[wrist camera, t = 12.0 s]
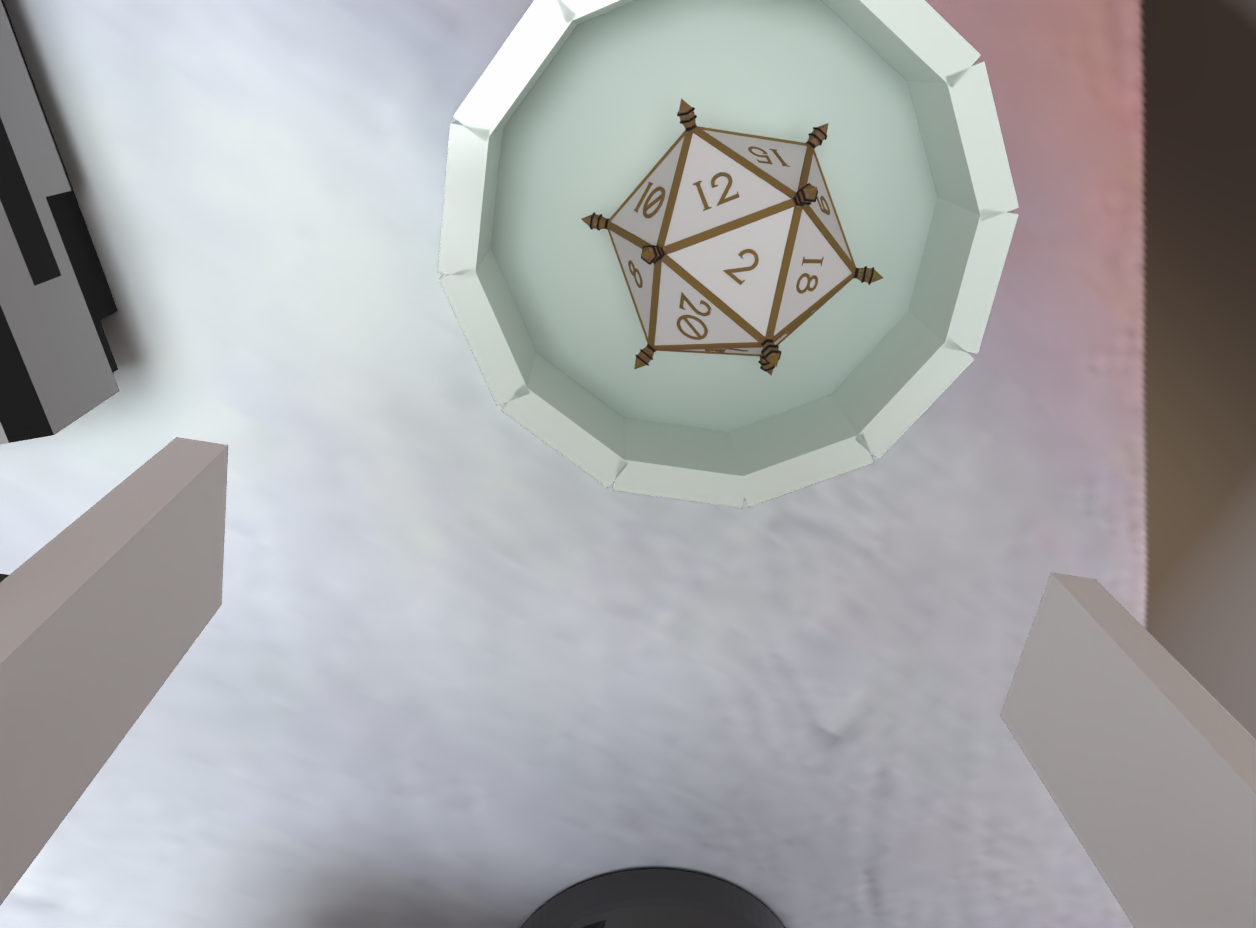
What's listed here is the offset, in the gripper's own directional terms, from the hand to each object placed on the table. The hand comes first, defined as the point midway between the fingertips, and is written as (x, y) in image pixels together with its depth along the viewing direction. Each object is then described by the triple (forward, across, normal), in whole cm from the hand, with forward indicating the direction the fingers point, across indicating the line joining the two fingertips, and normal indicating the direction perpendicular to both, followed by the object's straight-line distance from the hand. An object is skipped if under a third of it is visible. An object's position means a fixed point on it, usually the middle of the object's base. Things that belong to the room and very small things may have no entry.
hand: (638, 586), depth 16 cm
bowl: (+24, -3, -3) cm, 24 cm away
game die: (+23, -3, -3) cm, 23 cm away
